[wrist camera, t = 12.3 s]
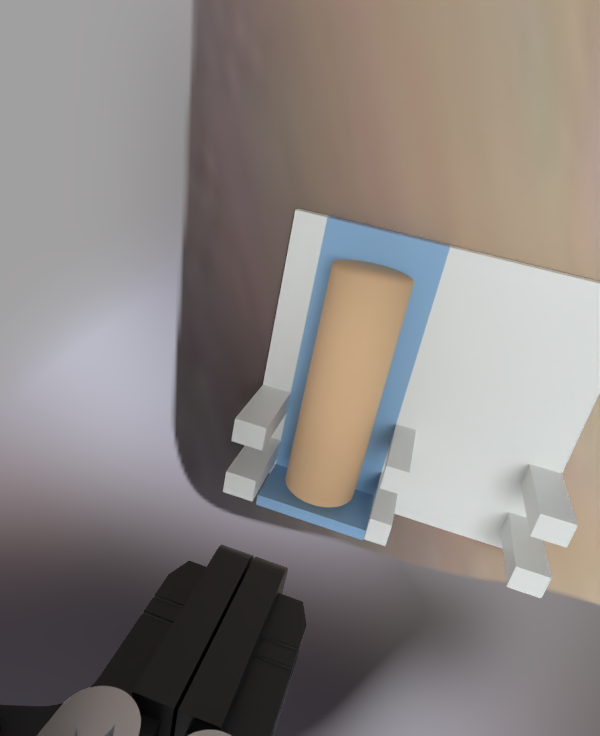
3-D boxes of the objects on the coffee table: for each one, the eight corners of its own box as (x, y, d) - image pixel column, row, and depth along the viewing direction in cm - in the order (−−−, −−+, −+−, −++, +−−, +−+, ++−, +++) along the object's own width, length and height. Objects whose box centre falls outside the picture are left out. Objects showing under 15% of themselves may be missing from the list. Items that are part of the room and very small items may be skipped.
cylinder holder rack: (298, 208, 26) (268, 220, 22) (641, 290, 23) (680, 322, 19) (251, 460, 31) (220, 508, 27) (522, 548, 29) (532, 614, 25)
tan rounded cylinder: (342, 255, 25) (323, 269, 22) (418, 274, 25) (409, 292, 22) (296, 456, 30) (275, 491, 27) (360, 477, 29) (345, 516, 26)
